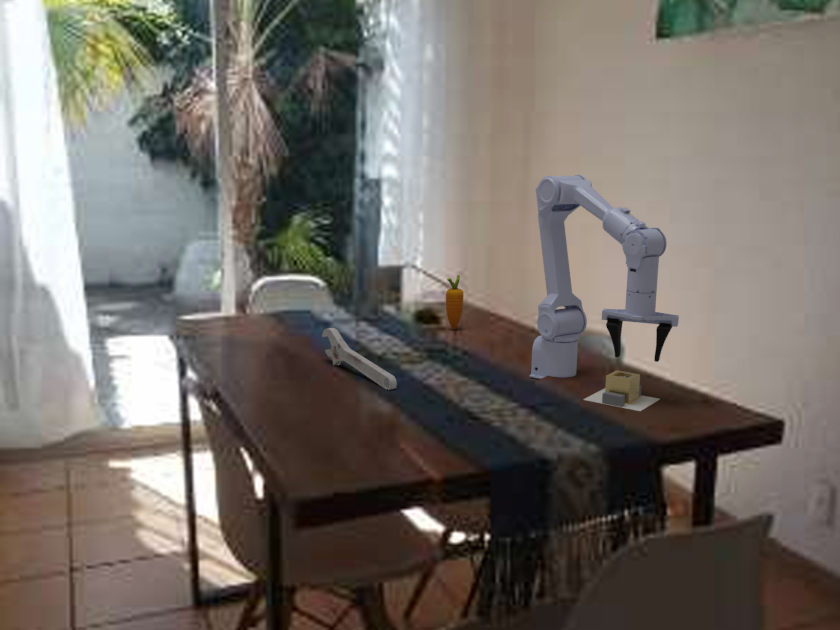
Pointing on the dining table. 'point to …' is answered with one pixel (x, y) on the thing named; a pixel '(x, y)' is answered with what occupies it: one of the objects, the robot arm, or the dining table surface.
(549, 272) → the robot arm
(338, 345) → the wrench
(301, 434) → the dining table surface
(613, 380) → the brass collar
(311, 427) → the dining table surface
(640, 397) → the block
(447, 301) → the carrot
